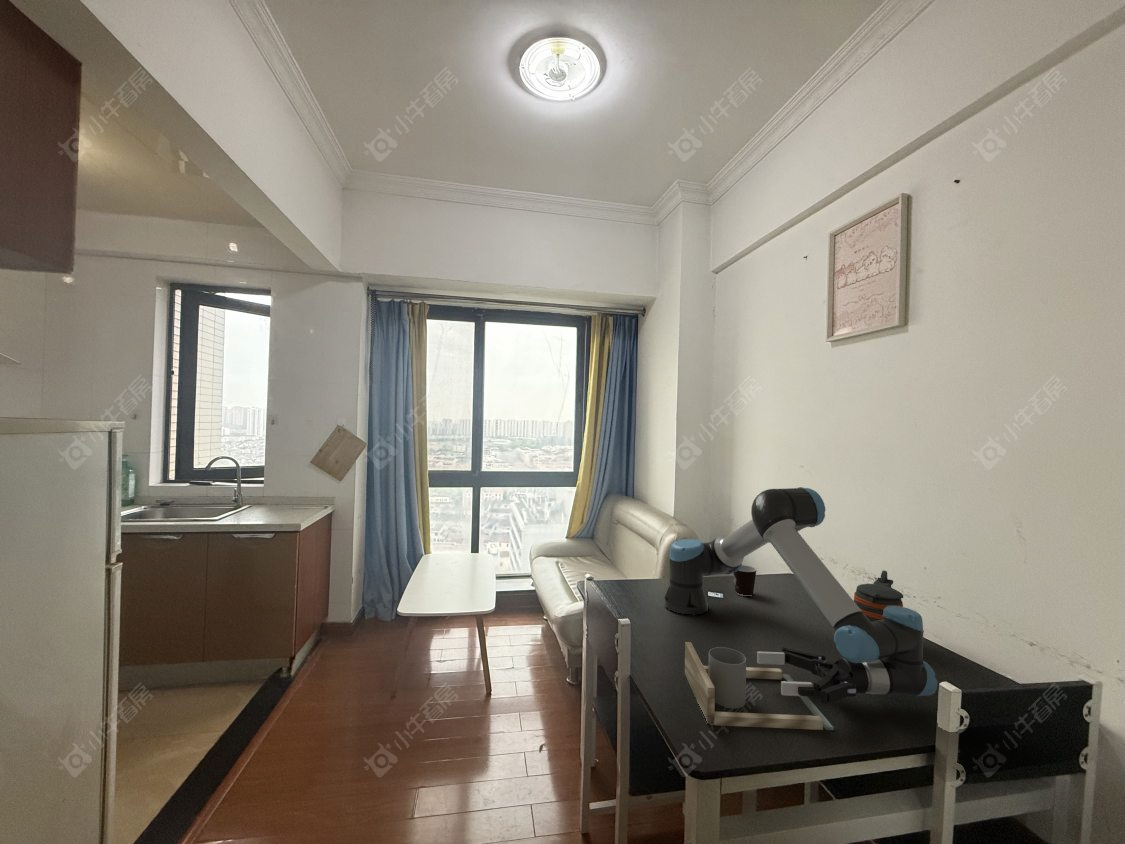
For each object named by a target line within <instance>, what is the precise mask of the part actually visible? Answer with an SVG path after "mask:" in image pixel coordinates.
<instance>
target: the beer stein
mask: <svg viewBox="0 0 1125 844" xmlns="http://www.w3.org/2000/svg"><path fill="white" fill-rule="evenodd" d="M888 578H889V577H888V571H887V570H882V571H881V573H880V577H877V579H876V580H875V581H874V582H873V583H861V584H858V585H857V586H856V589H855V592H854V593H853V601H854V602H855V603H856V604H857V606H858V607H859V608H860V609H861V611H862V612H863V613H864V614H865V615H866V617H867V618H868V619H869V620H870V622H871V621H877V620H882V619H883V617H882V615H883V611H884V608H885V607H887V606H900V607H904V603H903V600H902V599H904V594H903V593H902V592H900V591H899V590H897V589H895V588H893V587H892V585H893V584H894V580H893V579H888Z"/></svg>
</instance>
